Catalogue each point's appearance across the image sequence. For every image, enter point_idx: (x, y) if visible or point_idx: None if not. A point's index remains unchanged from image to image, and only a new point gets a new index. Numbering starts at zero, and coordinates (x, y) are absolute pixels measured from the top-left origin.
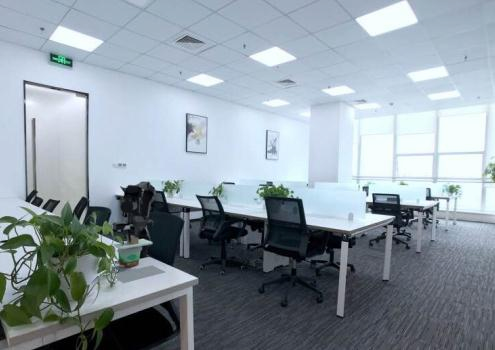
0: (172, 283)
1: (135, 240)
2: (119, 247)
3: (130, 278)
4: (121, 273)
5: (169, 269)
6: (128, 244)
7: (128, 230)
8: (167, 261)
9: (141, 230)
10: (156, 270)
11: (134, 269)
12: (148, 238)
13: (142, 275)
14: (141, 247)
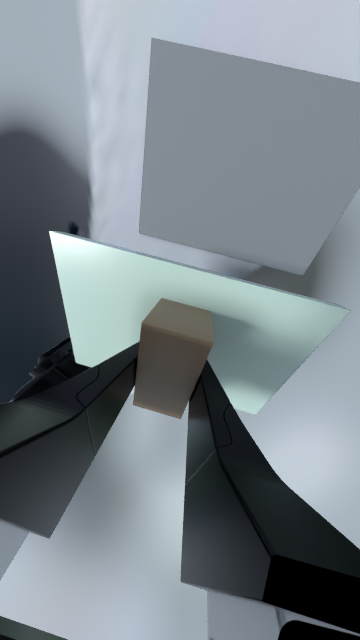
0: None
1: (181, 319)
2: (331, 329)
3: (326, 144)
4: (275, 254)
5: (108, 98)
6: (222, 337)
7: (340, 554)
8: (69, 228)
9: (19, 400)
10: (168, 138)
11: (214, 250)
12: (46, 359)
13: (261, 128)
14: None
